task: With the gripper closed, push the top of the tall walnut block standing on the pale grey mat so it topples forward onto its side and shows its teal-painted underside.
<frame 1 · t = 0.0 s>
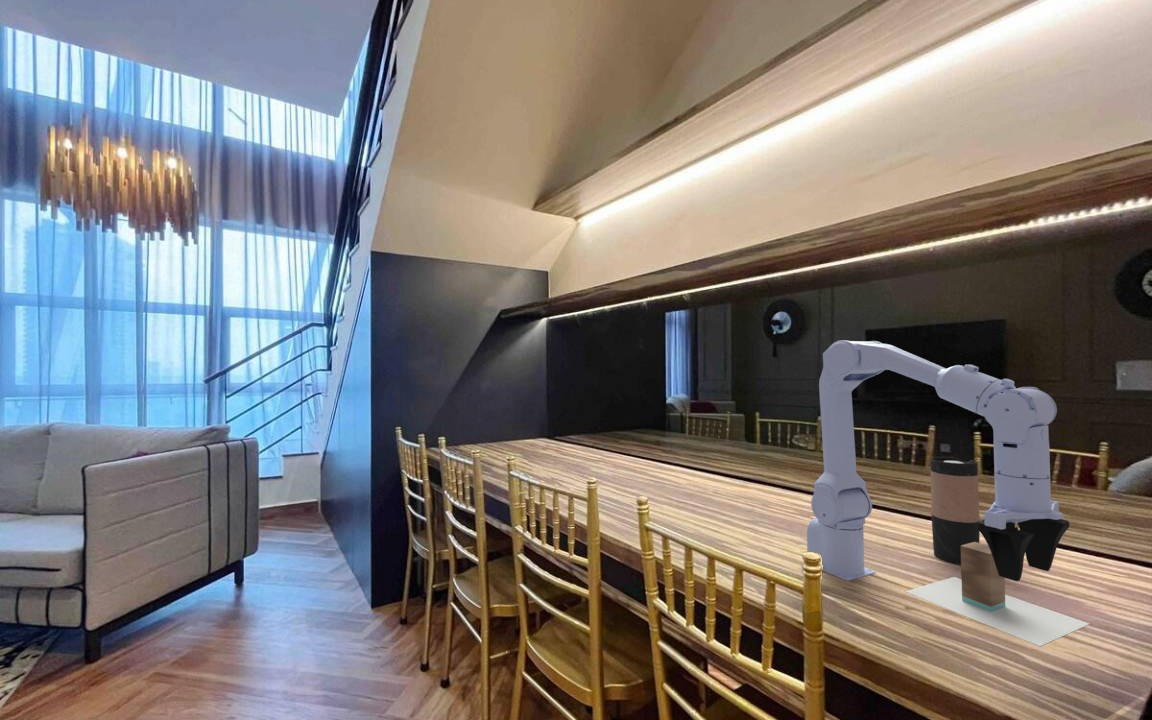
hand: (1024, 573, 67), 10 cm above the table, tool pointing down, fingers open, 7 cm apart
walnut block: (983, 603, 78), resting on grey mat
grey mat: (990, 609, 77), on the table
travel mug: (956, 561, 97), on the table
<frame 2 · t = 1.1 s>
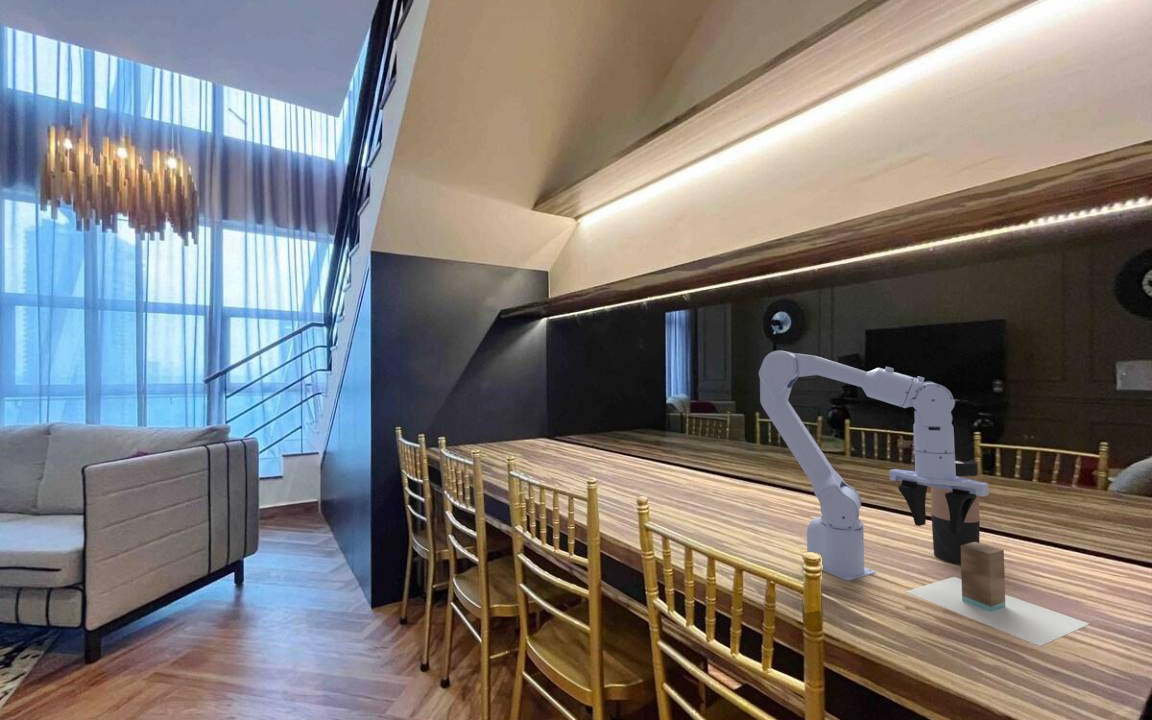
hand: (937, 529, 84), 10 cm above the table, tool pointing down, fingers open, 5 cm apart
nothing on the table moved.
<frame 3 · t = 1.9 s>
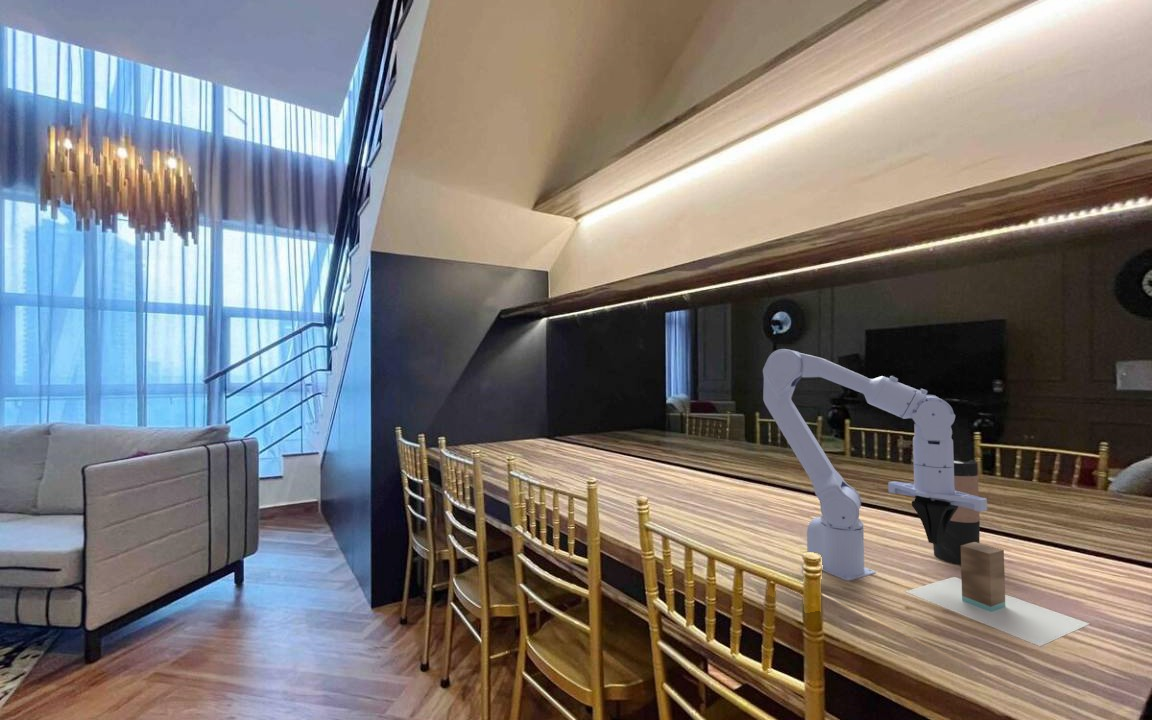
hand: (935, 542, 84), 8 cm above the table, tool pointing down, fingers closed
nothing on the table moved.
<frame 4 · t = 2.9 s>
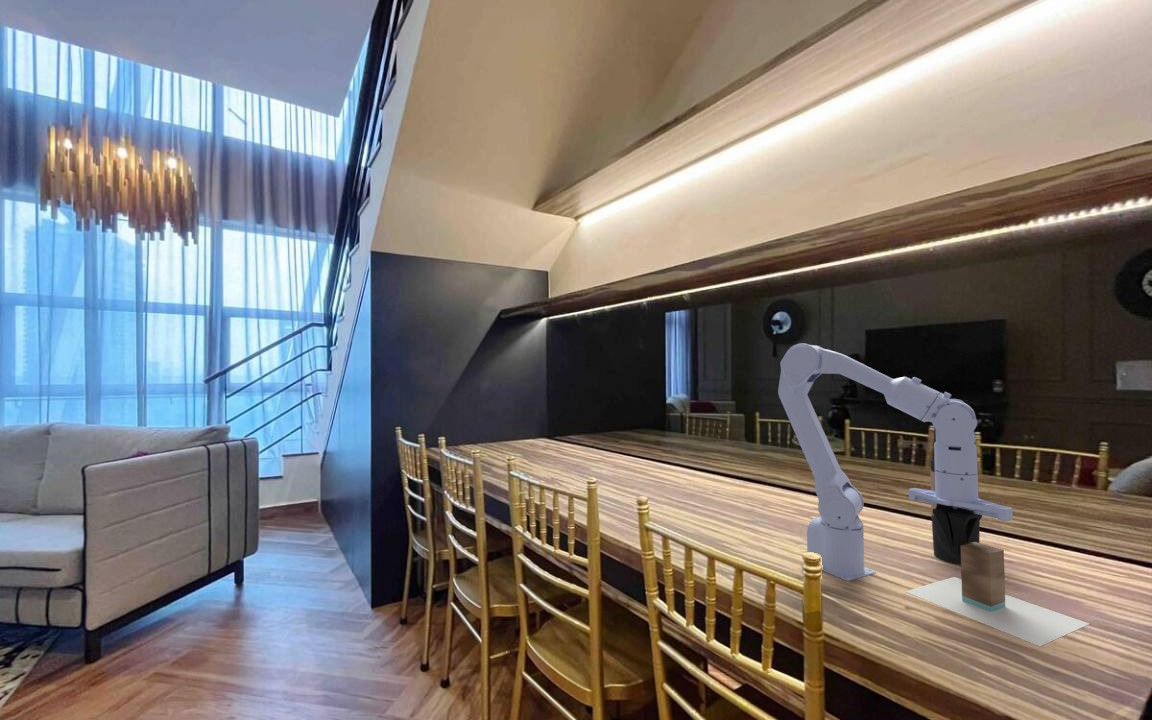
hand: (958, 552, 81), 7 cm above the table, tool pointing down, fingers closed
nothing on the table moved.
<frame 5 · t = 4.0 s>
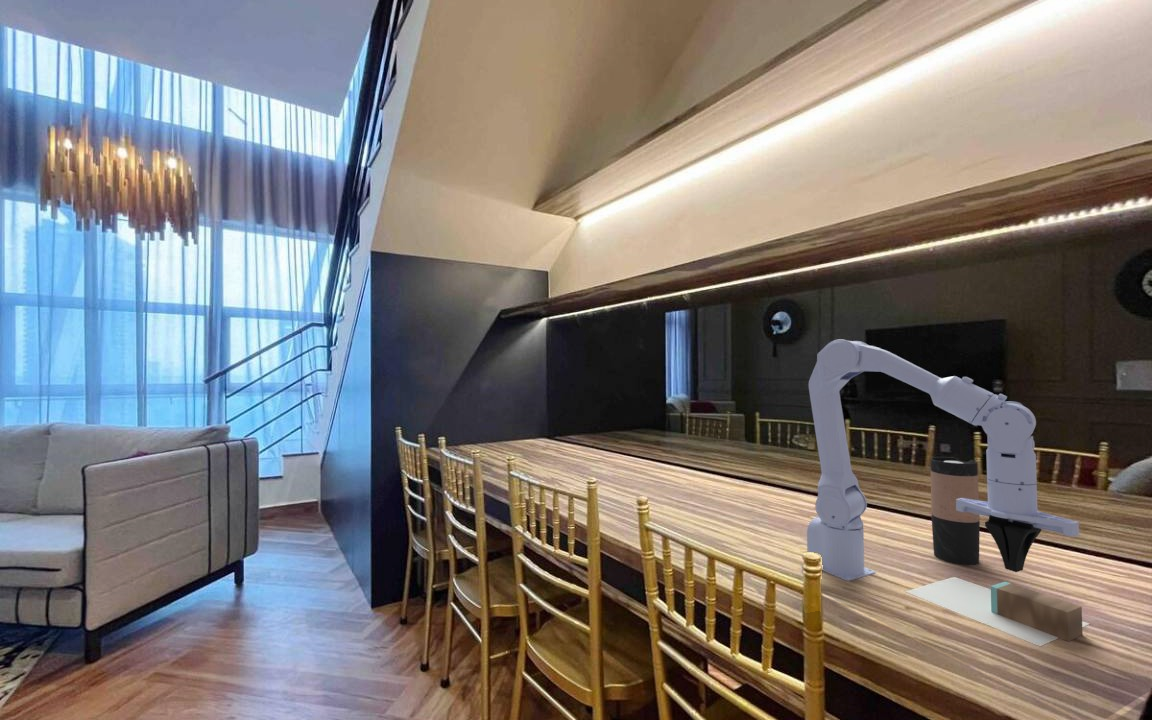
hand: (1014, 569, 74), 7 cm above the table, tool pointing down, fingers closed
walnut block: (998, 596, 76), point 2 cm above the table, tilted 90°, touching grey mat
everything else where it was.
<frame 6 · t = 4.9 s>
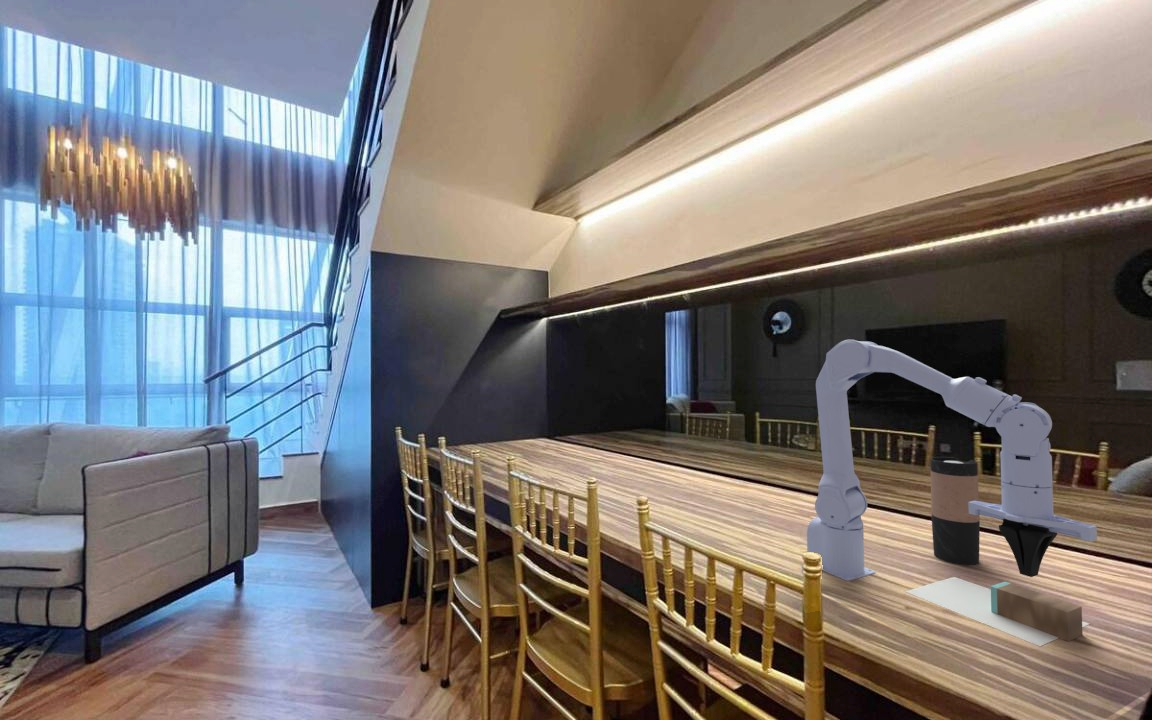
hand: (1028, 574, 72), 7 cm above the table, tool pointing down, fingers closed
nothing on the table moved.
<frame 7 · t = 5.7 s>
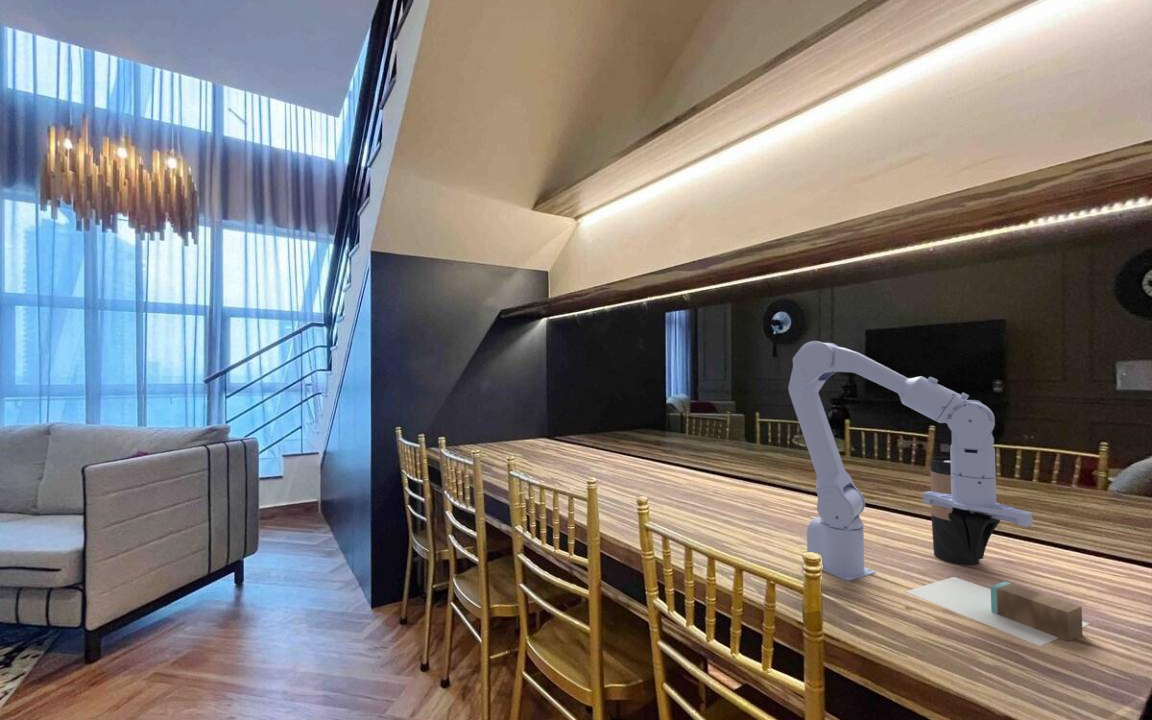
hand: (974, 558, 79), 7 cm above the table, tool pointing down, fingers closed
nothing on the table moved.
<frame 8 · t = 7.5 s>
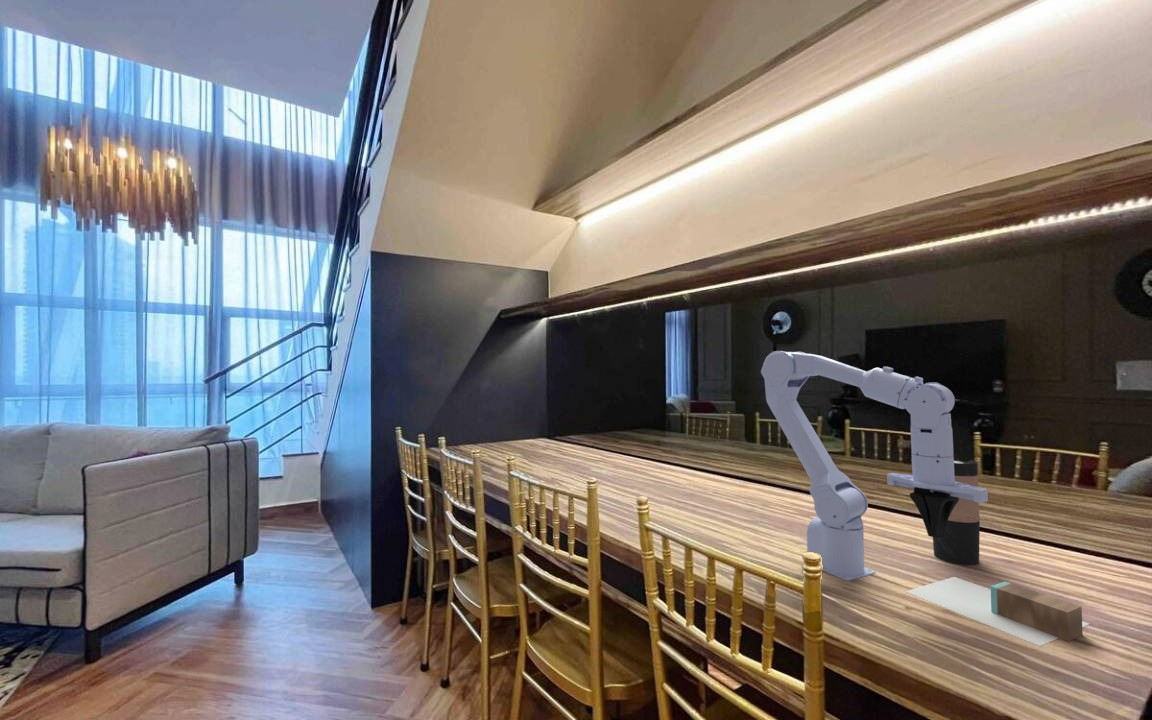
hand: (935, 536, 81), 10 cm above the table, tool pointing down, fingers closed
nothing on the table moved.
at the end: walnut block tilted 90°; walnut block inside the target area (1.5 cm from its centre), point 2.4 cm above the table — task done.
